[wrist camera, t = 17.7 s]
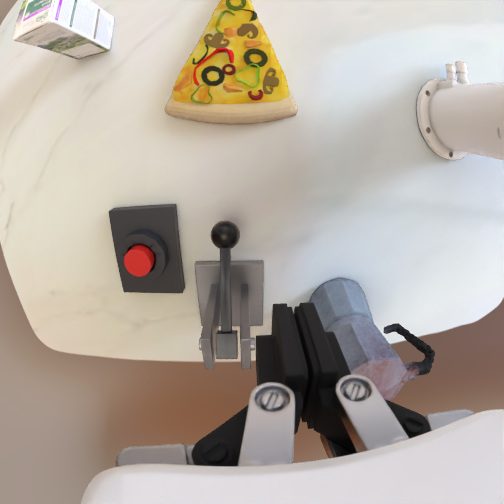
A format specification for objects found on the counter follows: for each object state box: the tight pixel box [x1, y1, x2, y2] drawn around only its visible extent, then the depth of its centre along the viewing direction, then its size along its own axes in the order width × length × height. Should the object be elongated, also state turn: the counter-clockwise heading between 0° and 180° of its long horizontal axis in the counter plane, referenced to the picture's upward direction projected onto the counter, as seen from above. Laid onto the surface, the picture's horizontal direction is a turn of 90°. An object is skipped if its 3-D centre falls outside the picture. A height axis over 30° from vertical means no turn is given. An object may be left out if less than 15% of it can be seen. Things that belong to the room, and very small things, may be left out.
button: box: [124, 245, 155, 277], centre depth 33 cm, size 4×4×2 cm
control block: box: [109, 204, 185, 293], centre depth 35 cm, size 12×9×4 cm
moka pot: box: [310, 278, 435, 401], centre depth 31 cm, size 10×15×20 cm, turn 111°
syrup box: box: [13, 0, 115, 59], centre depth 18 cm, size 6×6×14 cm
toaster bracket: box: [195, 261, 263, 369], centre depth 34 cm, size 10×9×13 cm
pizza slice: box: [165, 0, 298, 124], centre depth 25 cm, size 16×21×3 cm
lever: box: [211, 221, 240, 359], centre depth 30 cm, size 15×3×3 cm, turn 1°
